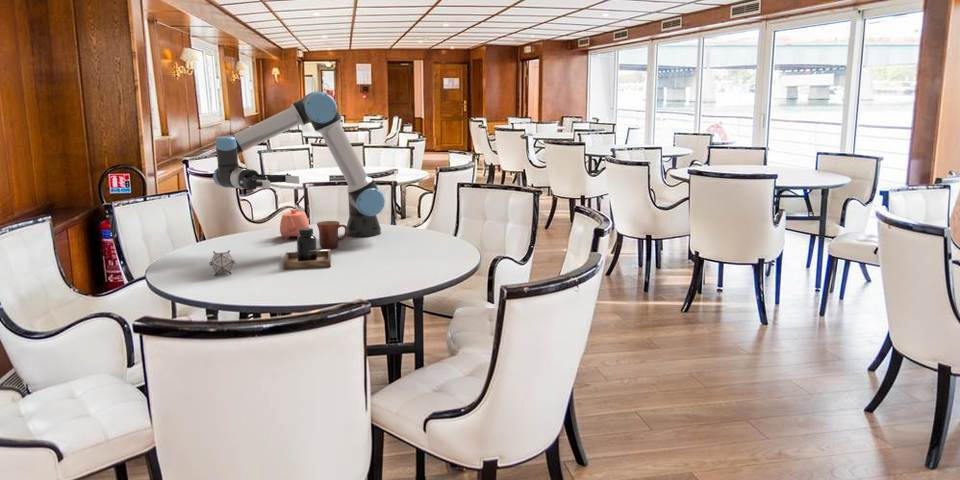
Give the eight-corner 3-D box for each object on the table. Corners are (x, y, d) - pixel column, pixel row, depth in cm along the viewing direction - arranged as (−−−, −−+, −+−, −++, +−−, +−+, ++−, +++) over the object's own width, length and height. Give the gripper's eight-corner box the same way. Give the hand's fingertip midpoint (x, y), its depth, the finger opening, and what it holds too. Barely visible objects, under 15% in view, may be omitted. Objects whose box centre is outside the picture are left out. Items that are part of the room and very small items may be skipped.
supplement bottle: (314, 263, 253) (312, 230, 251) (295, 263, 253) (293, 230, 251) (319, 259, 260) (317, 227, 257) (300, 259, 260) (298, 227, 257)
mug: (315, 250, 277) (313, 224, 275) (322, 245, 285) (320, 220, 283) (344, 251, 276) (343, 225, 274) (351, 246, 284) (350, 221, 282)
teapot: (286, 233, 311) (284, 206, 308) (313, 232, 311) (311, 205, 309) (275, 242, 291) (273, 213, 289) (304, 242, 292) (302, 213, 289)
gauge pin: (330, 253, 271) (330, 248, 270) (330, 255, 269) (330, 249, 268) (298, 255, 268) (298, 250, 268) (298, 256, 267) (297, 251, 266)
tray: (330, 256, 266) (330, 250, 266) (330, 267, 251) (330, 260, 250) (286, 259, 263) (286, 252, 262) (284, 269, 248) (283, 262, 247)
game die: (226, 285, 241) (224, 267, 234) (204, 276, 242) (201, 257, 235) (241, 268, 247) (240, 249, 240) (220, 258, 248) (218, 239, 241)
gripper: (272, 184, 278) (310, 188, 267) (218, 193, 258) (257, 197, 247) (271, 165, 277) (309, 168, 265) (216, 172, 256) (255, 175, 245)
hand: (284, 182), depth 256 cm, fingers open, 13 cm apart
